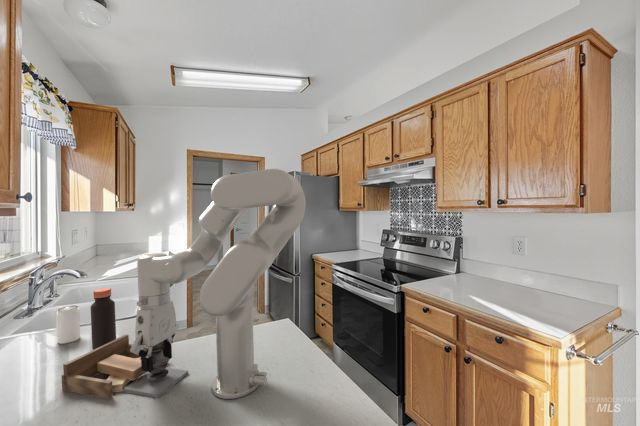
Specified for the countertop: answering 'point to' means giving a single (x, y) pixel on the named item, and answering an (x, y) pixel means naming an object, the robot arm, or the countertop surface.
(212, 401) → the countertop surface
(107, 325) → the bottle
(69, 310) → the can
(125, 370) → the upper offcut
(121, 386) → the lower offcut
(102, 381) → the rack
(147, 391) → the mat
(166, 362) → the grey stone finial
